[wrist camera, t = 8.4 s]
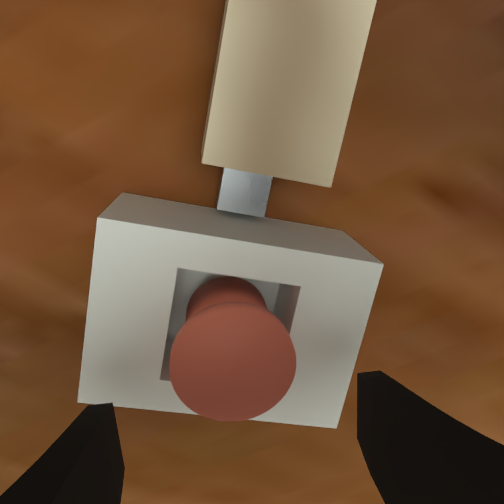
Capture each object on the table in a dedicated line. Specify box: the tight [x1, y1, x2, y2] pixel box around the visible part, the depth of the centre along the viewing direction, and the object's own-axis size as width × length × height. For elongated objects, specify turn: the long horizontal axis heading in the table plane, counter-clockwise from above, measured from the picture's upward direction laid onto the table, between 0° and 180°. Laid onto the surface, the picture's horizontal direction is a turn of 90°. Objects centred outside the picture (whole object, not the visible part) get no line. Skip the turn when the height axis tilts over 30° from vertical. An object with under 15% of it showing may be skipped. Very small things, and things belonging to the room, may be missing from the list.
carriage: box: [201, 0, 377, 188], centre depth 16 cm, size 4×6×6 cm, turn 169°
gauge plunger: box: [169, 276, 296, 422], centre depth 16 cm, size 4×4×4 cm
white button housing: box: [77, 192, 384, 429], centre depth 19 cm, size 10×7×5 cm
